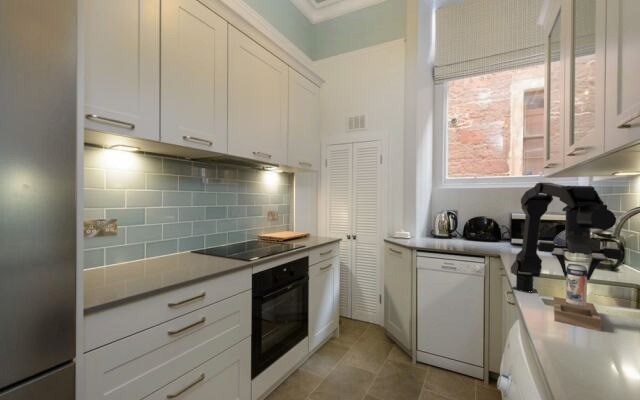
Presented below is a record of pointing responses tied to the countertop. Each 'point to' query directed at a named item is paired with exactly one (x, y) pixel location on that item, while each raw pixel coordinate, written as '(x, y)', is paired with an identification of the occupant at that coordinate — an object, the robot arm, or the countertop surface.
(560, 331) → the countertop surface
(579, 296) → the beer can
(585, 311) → the socket board
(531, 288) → the robot arm
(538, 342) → the countertop surface
